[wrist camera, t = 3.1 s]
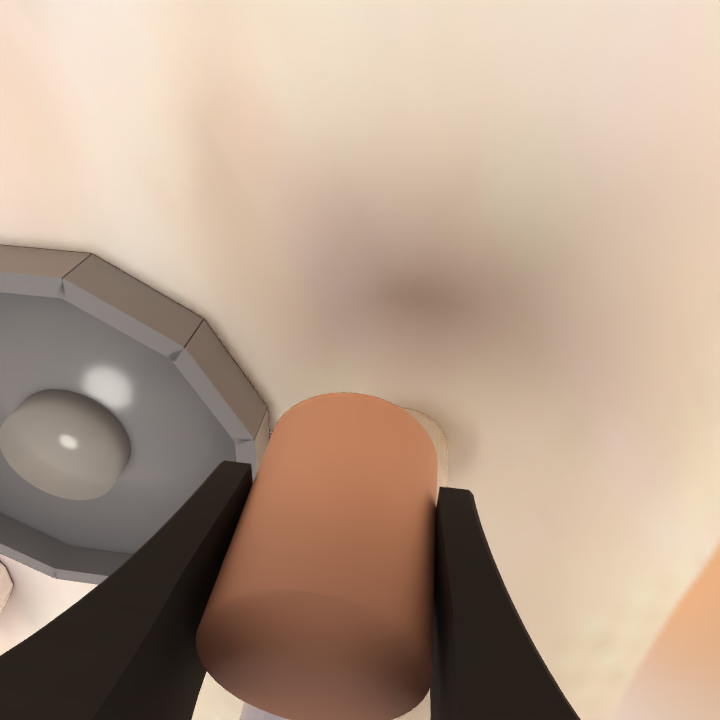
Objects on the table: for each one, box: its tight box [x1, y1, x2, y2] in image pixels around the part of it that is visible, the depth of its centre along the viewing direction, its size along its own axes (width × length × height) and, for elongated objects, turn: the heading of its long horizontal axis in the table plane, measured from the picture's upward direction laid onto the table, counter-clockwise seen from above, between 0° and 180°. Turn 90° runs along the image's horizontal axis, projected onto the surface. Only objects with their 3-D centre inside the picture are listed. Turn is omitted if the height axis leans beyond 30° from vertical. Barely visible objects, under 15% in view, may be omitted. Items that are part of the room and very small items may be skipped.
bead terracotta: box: [196, 392, 438, 720], centre depth 12 cm, size 4×4×5 cm
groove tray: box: [0, 245, 269, 585], centre depth 26 cm, size 17×17×2 cm
